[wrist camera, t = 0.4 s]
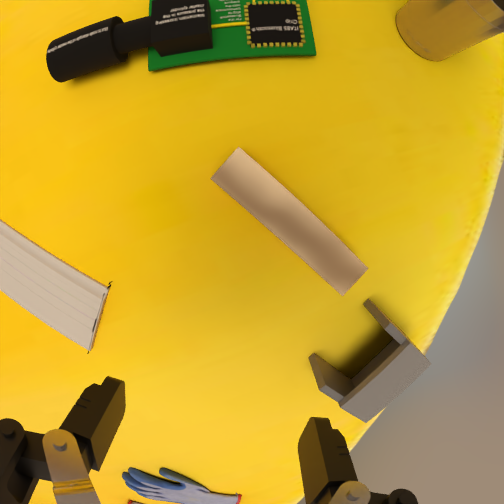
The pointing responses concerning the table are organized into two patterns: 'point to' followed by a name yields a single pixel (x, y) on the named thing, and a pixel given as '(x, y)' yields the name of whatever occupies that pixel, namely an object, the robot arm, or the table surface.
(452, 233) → the table surface
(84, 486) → the robot arm
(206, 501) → the pair of gloves
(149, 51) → the electronic board model
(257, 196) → the slat
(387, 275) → the table surface
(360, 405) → the end cap
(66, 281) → the baseboard molding
